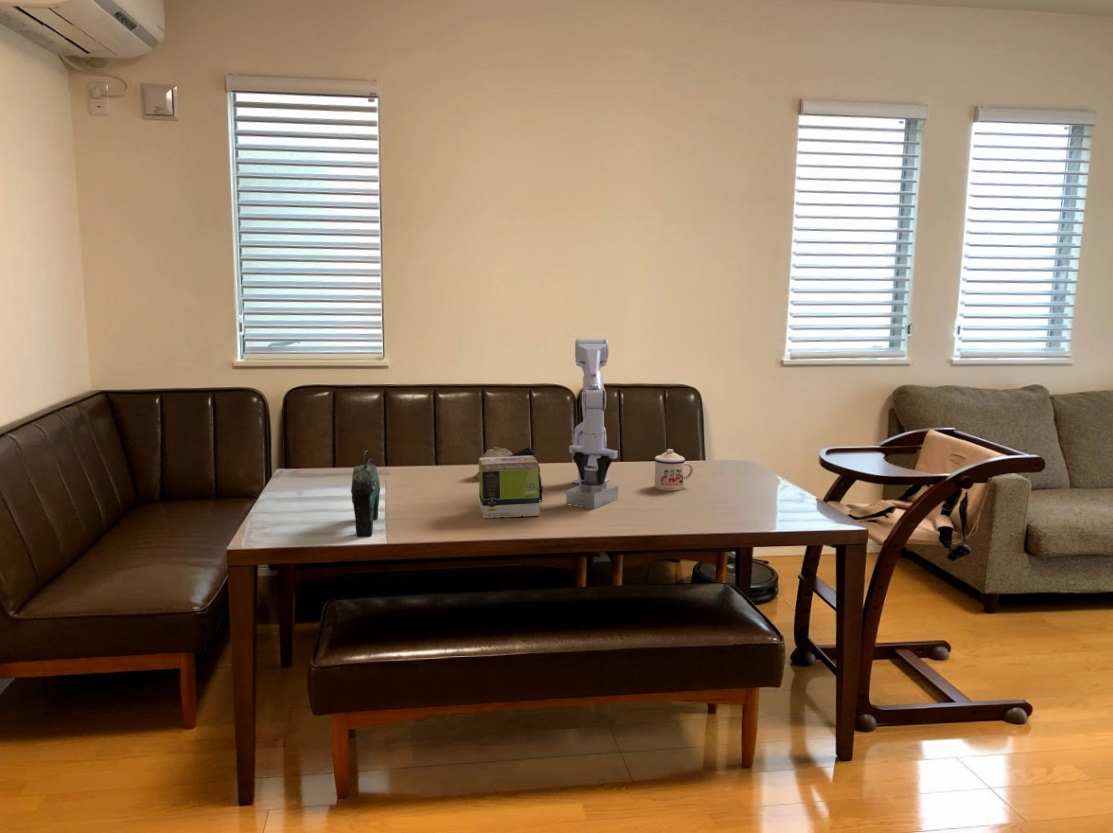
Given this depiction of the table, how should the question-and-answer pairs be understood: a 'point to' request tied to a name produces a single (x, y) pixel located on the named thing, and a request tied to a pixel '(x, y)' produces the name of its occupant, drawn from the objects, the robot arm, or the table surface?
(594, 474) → the cup
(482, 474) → the tea box
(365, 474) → the ceramic cat
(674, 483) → the teacup with lid
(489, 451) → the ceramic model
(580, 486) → the square base socket
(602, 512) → the table surface
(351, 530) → the table surface
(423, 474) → the table surface
